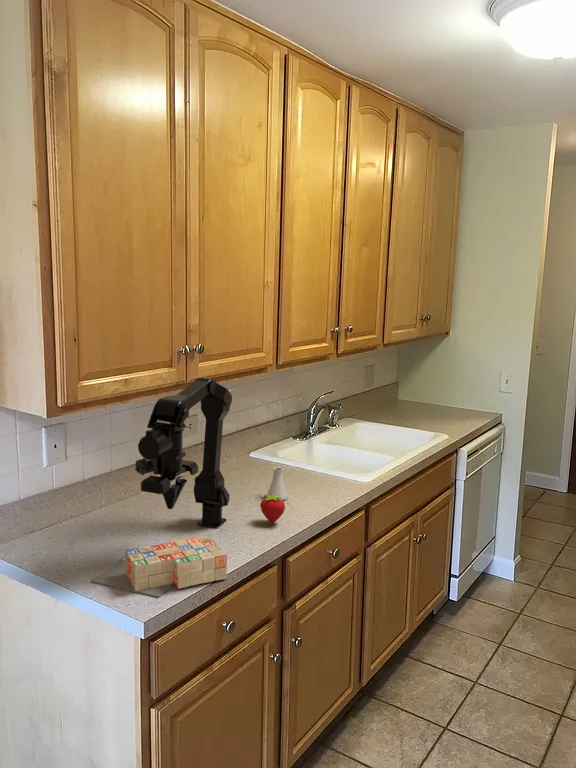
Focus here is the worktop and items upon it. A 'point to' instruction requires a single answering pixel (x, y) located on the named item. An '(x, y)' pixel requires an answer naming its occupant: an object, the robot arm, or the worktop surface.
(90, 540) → the worktop surface
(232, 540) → the worktop surface
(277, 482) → the flask
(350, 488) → the worktop surface
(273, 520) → the strawberry
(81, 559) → the worktop surface
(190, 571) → the stack of blocks
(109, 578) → the mat
